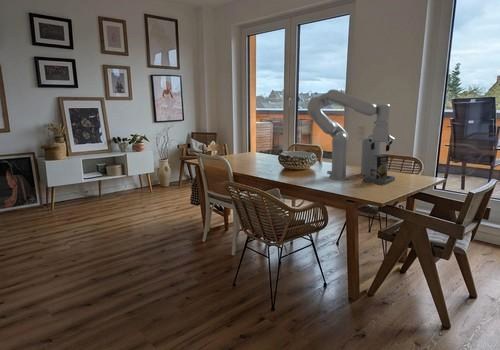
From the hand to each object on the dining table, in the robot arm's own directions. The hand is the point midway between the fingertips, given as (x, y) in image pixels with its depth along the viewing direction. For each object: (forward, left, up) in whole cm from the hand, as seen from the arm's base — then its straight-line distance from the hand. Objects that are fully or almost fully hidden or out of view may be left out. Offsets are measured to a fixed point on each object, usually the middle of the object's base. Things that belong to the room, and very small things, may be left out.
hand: (379, 150), depth 224 cm
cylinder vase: (-13, +14, -21) cm, 28 cm away
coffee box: (0, 0, -20) cm, 20 cm away
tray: (0, 0, -20) cm, 20 cm away
